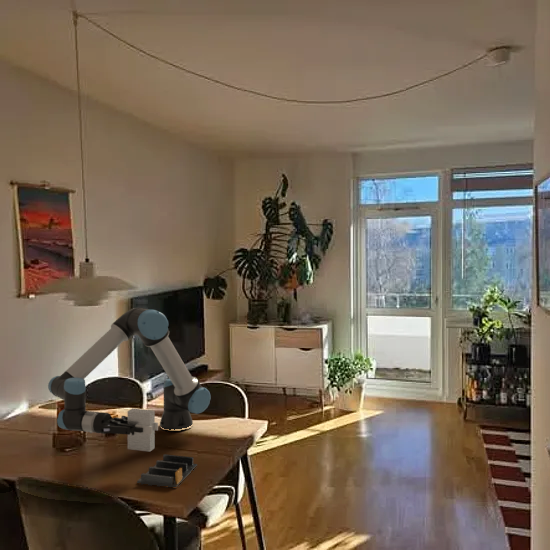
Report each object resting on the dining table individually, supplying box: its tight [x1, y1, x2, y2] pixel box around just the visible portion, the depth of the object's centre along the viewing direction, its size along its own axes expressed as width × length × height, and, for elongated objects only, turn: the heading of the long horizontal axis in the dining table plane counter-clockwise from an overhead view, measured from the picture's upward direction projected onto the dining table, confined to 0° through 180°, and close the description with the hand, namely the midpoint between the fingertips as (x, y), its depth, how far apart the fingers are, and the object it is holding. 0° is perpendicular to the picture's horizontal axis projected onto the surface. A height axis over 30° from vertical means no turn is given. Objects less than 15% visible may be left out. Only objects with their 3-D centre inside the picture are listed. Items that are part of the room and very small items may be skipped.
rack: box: [136, 453, 198, 488], centre depth 193 cm, size 19×15×5 cm
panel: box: [127, 408, 156, 452], centre depth 192 cm, size 4×9×14 cm, turn 75°
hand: (154, 428), depth 191 cm, fingers closed on panel, 3 cm apart
